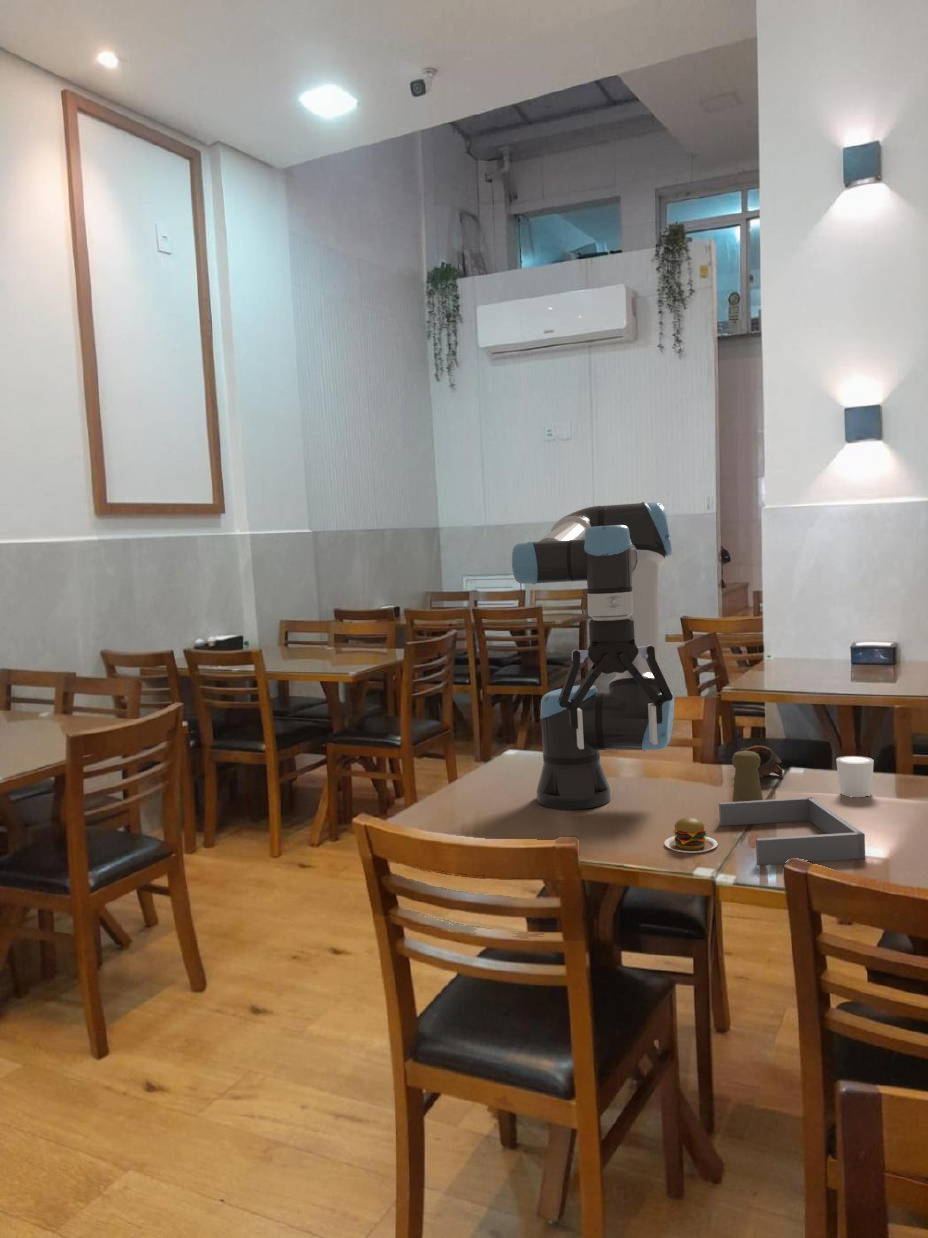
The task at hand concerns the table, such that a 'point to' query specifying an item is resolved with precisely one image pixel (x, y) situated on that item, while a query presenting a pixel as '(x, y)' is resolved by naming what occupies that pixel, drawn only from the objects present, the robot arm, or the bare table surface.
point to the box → (831, 846)
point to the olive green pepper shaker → (746, 777)
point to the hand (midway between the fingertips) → (617, 745)
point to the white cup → (855, 775)
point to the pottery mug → (766, 760)
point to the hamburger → (690, 836)
